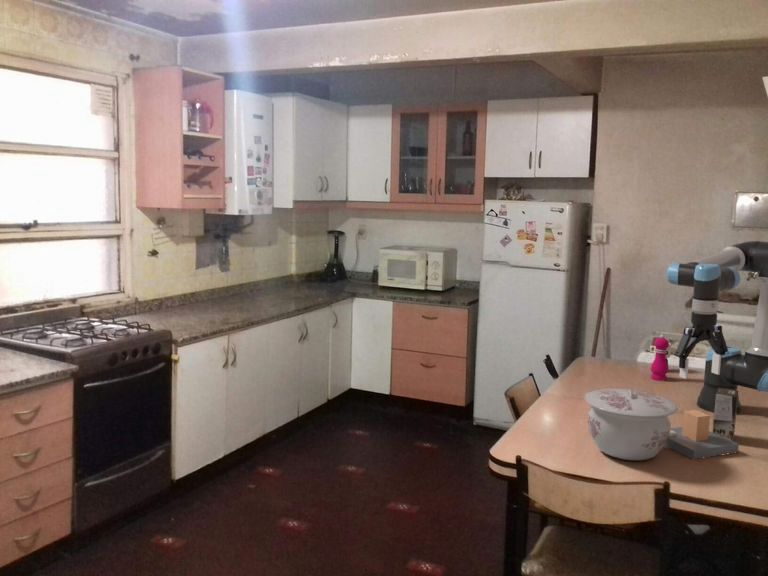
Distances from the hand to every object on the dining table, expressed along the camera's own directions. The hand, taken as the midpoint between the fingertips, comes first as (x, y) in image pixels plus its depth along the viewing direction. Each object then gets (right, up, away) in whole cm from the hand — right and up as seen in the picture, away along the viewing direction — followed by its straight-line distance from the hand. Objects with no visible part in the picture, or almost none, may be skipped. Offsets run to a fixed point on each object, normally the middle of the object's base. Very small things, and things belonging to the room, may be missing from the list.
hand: (699, 375), depth 223 cm
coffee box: (+11, -22, +7) cm, 25 cm away
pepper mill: (+18, -12, +77) cm, 80 cm away
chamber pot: (-27, -23, -8) cm, 36 cm away
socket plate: (-3, -23, -2) cm, 23 cm away
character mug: (+24, -10, +91) cm, 95 cm away
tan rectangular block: (-3, -22, -2) cm, 22 cm away
